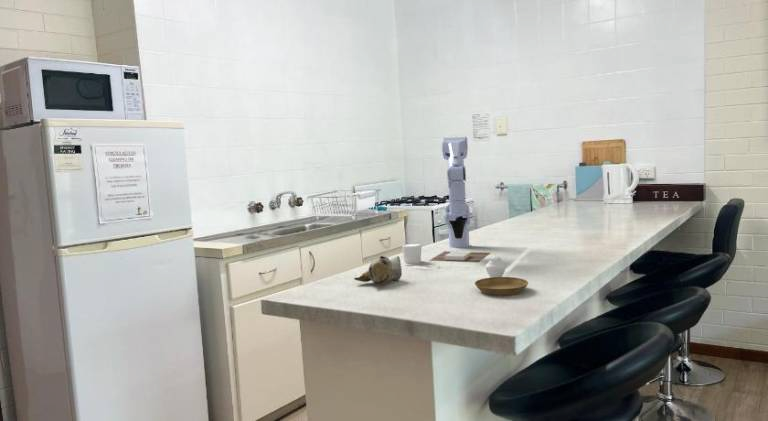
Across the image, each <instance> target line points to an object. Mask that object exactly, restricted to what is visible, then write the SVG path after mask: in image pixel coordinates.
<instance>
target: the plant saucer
mask: <svg viewBox="0 0 768 421" xmlns="http://www.w3.org/2000/svg"><path fill="white" fill-rule="evenodd" d="M528 284H529V281H528V280H526V279H523V278H519V277H515V276H514V277H513V276H512V277H511V276H502V277H491V278H490V277H483V278H480V279H477V280H476V281H474V285H475V286H476V287H477V289H478V290H480V292H482V293H483V294H486V295H489V296H490V295H491V296H500V297H501V296H502V297H503V296H512V295H514V296H515V295H518V294H521V292H523V291H524V290H525V288H527V286H528Z"/></svg>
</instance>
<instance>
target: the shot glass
mask: <svg viewBox="0 0 768 421" xmlns="http://www.w3.org/2000/svg"><path fill="white" fill-rule="evenodd" d="M422 245H423V244H421V243H406V244H402V245H401V247H402V248H401V249H402V254H403V262H404V264H407V265H405V267H412V265H411V264H420V263H421V262H422ZM409 264H410V265H409Z"/></svg>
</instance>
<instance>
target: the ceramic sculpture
mask: <svg viewBox="0 0 768 421" xmlns="http://www.w3.org/2000/svg"><path fill="white" fill-rule="evenodd" d="M402 271H403V270H402V264H401V259H400V256H396V257H394V258H391V259H390V258H388V257H387V256H382V255H381V256H380V257H379V258H378V260H375V261H373V262H371V263H370V264H369V266H368V270H367V271H365V272H363V273H362V274H361V275H360V276H358V277H354V278H353V279H354V280H355V281H359V282H361V283H362V282H363V283H367V282H370V281H372V282H373V284H374V285H377V286H382V285H384V284H386V283H388V282H389V281H391V280H392V281H399V280H400V279H401V277H402V274H403V273H402Z"/></svg>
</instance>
